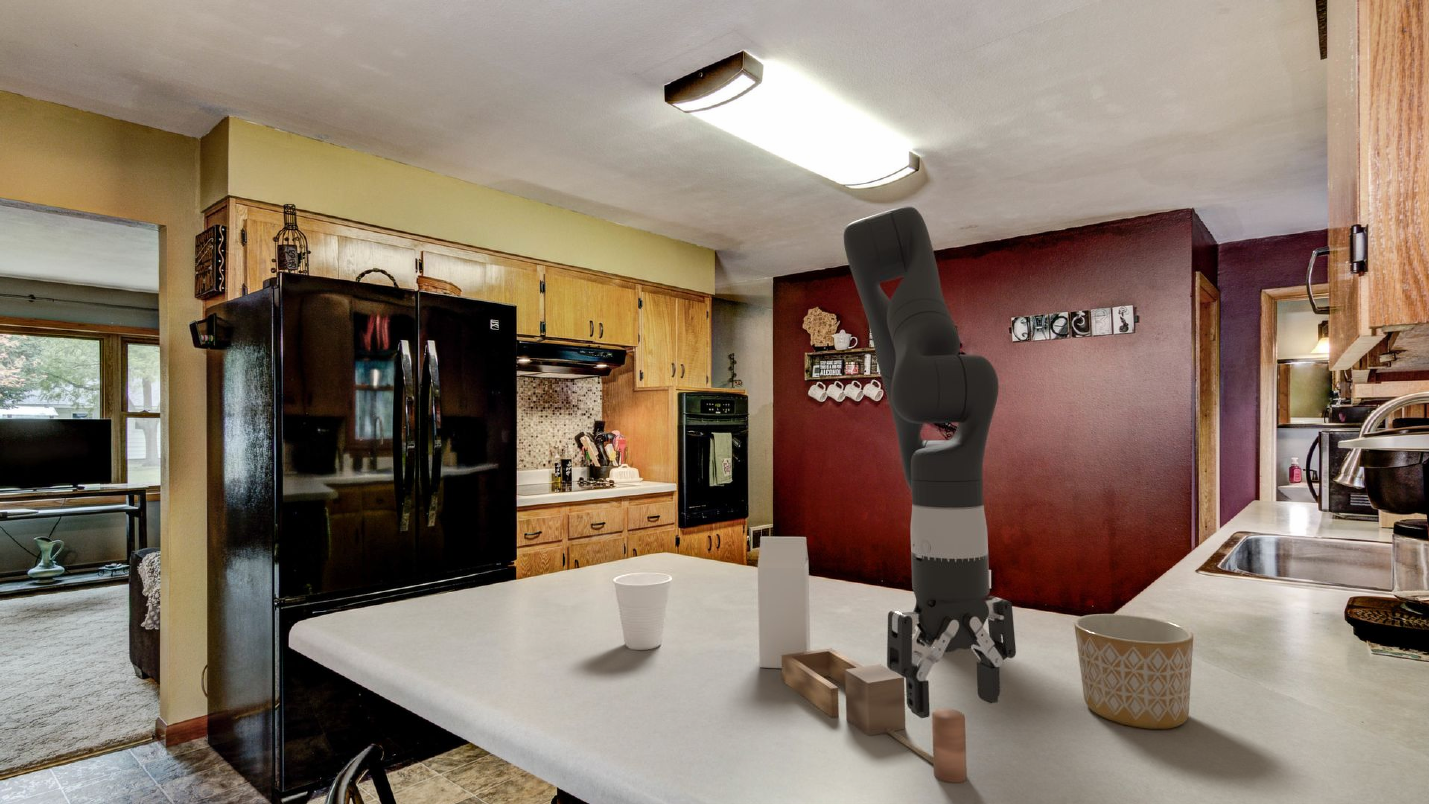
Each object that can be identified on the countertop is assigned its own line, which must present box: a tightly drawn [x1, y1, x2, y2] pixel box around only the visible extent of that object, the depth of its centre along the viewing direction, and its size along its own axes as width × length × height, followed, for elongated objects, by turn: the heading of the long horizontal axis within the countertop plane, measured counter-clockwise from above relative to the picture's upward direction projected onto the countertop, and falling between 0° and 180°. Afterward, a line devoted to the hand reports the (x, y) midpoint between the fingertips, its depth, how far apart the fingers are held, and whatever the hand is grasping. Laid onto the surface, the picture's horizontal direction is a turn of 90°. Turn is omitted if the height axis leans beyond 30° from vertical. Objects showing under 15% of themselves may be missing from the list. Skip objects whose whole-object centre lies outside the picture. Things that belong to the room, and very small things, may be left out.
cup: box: [612, 572, 673, 651], centre depth 117 cm, size 10×10×11 cm
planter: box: [1073, 613, 1194, 730], centre depth 86 cm, size 13×13×10 cm
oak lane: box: [781, 647, 864, 718], centre depth 94 cm, size 14×8×4 cm, turn 20°
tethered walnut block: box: [845, 663, 968, 784], centre depth 78 cm, size 18×5×6 cm, turn 20°
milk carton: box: [757, 536, 811, 669], centre depth 108 cm, size 7×7×19 cm
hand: (954, 707), depth 72 cm, fingers open, 8 cm apart
